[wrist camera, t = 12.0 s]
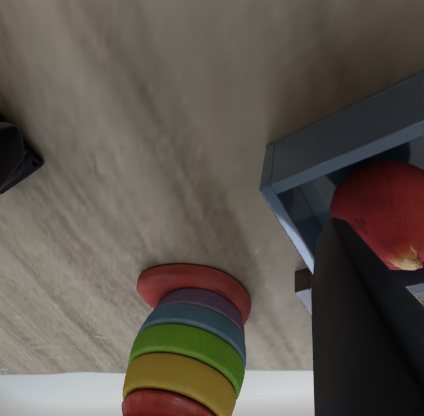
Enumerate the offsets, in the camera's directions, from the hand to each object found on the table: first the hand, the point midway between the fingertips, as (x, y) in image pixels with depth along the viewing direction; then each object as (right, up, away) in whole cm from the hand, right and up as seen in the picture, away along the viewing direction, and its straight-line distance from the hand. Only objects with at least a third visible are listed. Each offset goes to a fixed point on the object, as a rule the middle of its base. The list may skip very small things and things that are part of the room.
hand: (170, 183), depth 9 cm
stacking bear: (0, -9, +23) cm, 25 cm away
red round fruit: (+12, +1, +12) cm, 17 cm away
